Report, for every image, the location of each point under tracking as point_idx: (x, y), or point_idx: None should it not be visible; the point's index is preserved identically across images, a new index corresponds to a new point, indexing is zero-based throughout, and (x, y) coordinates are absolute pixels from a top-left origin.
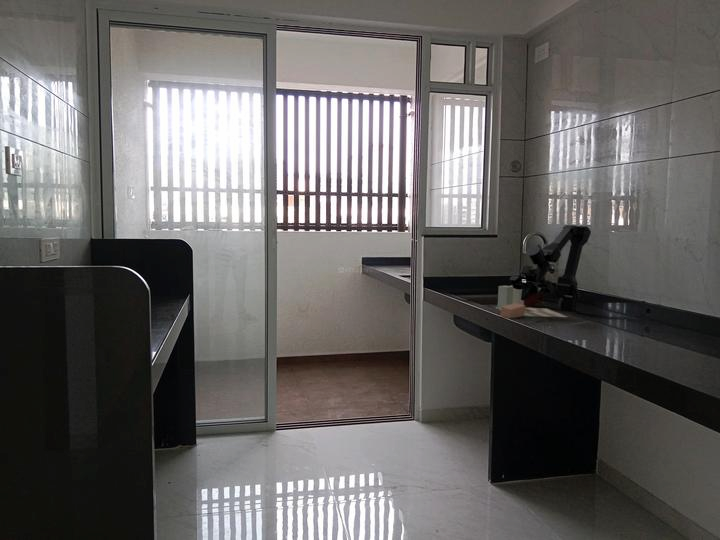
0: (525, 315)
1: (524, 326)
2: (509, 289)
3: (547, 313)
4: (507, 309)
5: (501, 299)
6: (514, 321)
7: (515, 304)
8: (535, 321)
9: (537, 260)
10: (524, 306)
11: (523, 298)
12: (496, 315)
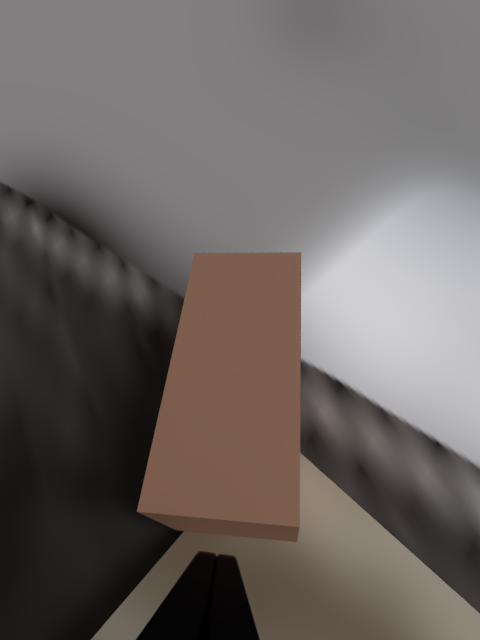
0: None
1: (49, 214)
2: None
3: None
4: (230, 259)
5: None
6: (169, 312)
7: (254, 437)
8: (35, 461)
9: None
10: (145, 494)
11: (184, 584)
12: (429, 449)
